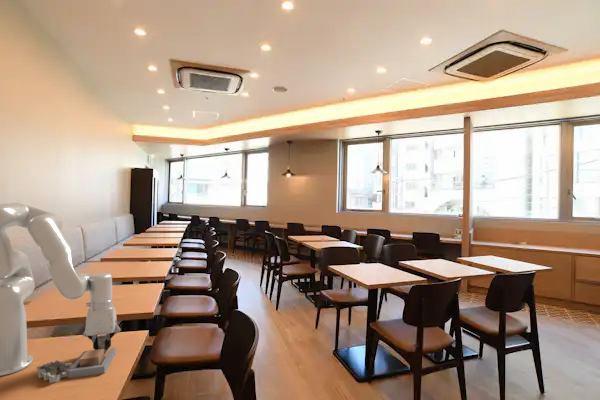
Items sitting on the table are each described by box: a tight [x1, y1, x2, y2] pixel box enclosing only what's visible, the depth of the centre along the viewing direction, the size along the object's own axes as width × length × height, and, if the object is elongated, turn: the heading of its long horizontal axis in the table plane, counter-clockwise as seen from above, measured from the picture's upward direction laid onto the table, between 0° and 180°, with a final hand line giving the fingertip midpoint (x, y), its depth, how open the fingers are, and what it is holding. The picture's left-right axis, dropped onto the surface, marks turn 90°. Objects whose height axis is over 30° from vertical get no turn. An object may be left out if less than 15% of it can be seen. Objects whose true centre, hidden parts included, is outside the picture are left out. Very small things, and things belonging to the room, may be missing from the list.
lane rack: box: [68, 347, 116, 379], centre depth 118 cm, size 11×14×2 cm
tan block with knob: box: [80, 334, 108, 367], centre depth 121 cm, size 6×16×6 cm, turn 16°
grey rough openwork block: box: [36, 360, 74, 384], centre depth 111 cm, size 11×8×4 cm
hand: (102, 348), depth 127 cm, fingers closed on tan block with knob, 3 cm apart
